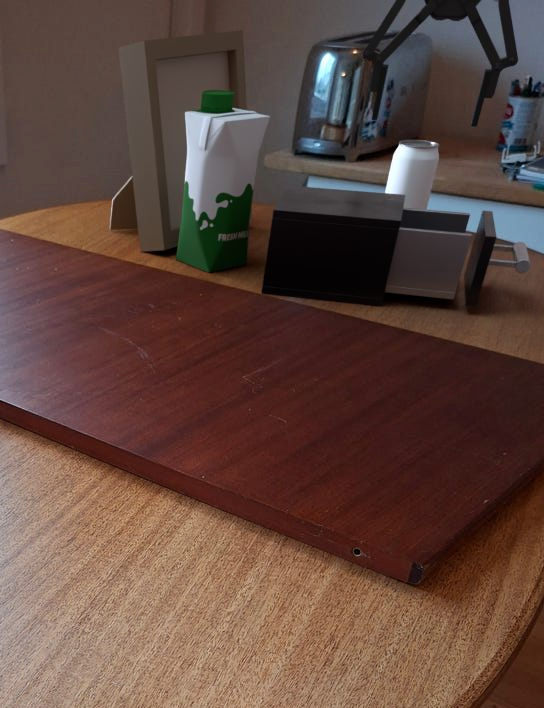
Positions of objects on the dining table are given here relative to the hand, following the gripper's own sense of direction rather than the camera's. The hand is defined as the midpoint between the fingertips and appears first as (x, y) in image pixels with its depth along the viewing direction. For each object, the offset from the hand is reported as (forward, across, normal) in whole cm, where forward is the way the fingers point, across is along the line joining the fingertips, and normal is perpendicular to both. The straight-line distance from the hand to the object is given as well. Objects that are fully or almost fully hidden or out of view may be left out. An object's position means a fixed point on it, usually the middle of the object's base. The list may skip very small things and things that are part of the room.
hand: (423, 122), depth 126 cm
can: (+15, 0, 0) cm, 15 cm away
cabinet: (+14, +8, +30) cm, 34 cm away
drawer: (+14, -6, +30) cm, 34 cm away
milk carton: (+15, +24, +26) cm, 38 cm away
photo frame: (+15, +33, +13) cm, 38 cm away
